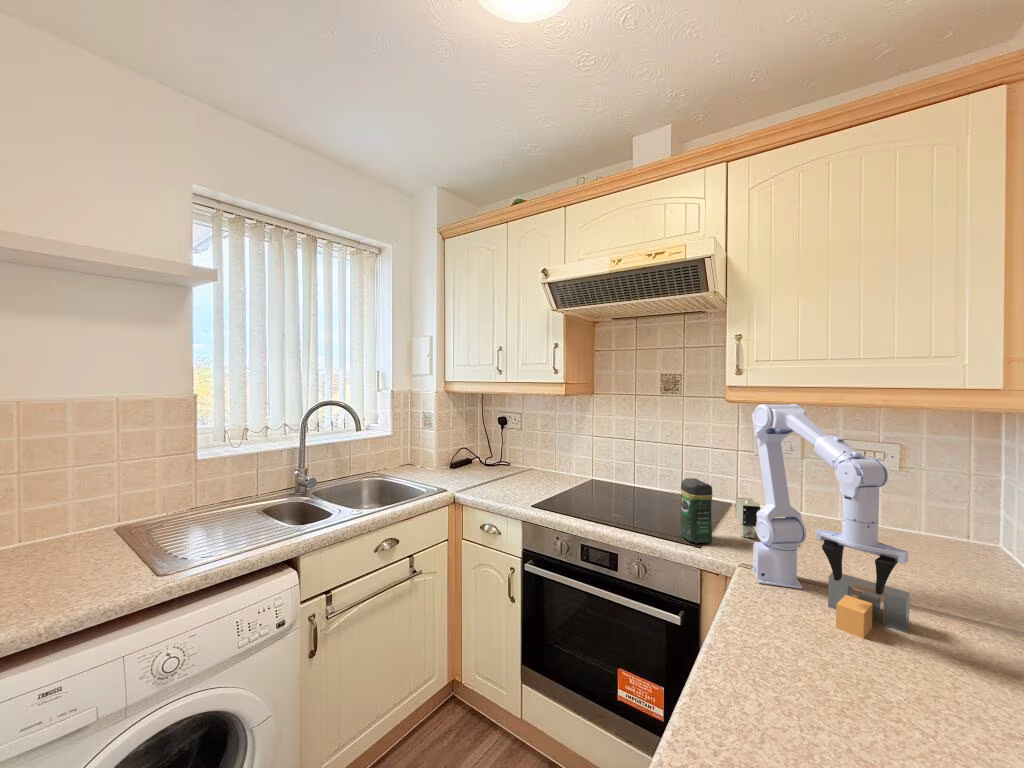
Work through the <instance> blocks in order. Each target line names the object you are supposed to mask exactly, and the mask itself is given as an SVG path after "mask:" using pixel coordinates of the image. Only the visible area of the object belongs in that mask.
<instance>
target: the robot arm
mask: <svg viewBox="0 0 1024 768" xmlns="http://www.w3.org/2000/svg"><path fill="white" fill-rule="evenodd" d="M806 412H807V411H806V409H804V408H802V407H801V406H800V405H798V404H796V403H790V404H764V403H762V404H759V405H757V406H756V407H755V409H754V411H753V413H752V414H751V417H752V424H753V430H754V433H753V434H754V437H755V438H756V442H757V443H756V444H757V449H758V457H759V464H760V471H761V477H762V478H761V479H762V487H763V493H764V501H765V502H764V503H765V505H764V506H762V508H760V510H759V511H758V512H757V513H756V514H757V523H756V527H755V533H756V535H757V537H758V540H760V541H754V542H753V546H752V569H751V570H752V572H753V575H754V576H755V579H756V581H757V582H758V583H759V584H764V585H772V586H779V587H784V588H785V587H786V588H792V589H800V590H801V589H803V585H802V584H801V582H800V581H799V580H798V578H797V577H798V549H799V548H801V544H803V543H804V542H805V541H806V539H807V530H806V527H805V524H804V523H803V520H802V516H801V512H799V511H798V510H797V509H796V508H794V507H793V506H791V501H790V495H789V489H788V481H787V476H786V475H787V474H786V468H785V461H784V453H783V449H782V448H783V447H782V442H783V441H784V439H785V438H788V437H789V436H791V434H793V433H795V434H796V435H798V436H800V438H802V439H804V440H805V441H806V442H808V443H809V444H811V445H812V446H813V447H814V448H813V451H814V454H815V455H816V456H817V457H818V458H819V459H821V461H823V462H824V463H825V464H826V465H827V466H828V467H830V468H831V469H832V470H833V471H834V475H835V477H836V480H837V482H838V484H839V491H840V494H841V495H842V505H841V506H842V507H841V511H842V512H841V532H838V531H831V530H825V529H822V528H819V529H816V530H815V540H816V541H820V542H823V544H822V545H821V548H822V551H823V553H824V554H825V556H826V558H827V561H828V563H829V565H830V568H831V573H832V572H833V576H834V580H836V581H839V580H840V579H841V578H842V574H843V554H844V548H849V549H852V550H857V551H860V552H864V553H868V554H871V555H874V556H879V557H877V558H876V559H874V564H875V572H876V581H875V583H876V594H875V595H877V594H879V595H878V596H881V594H882V593H883V592H884V587H885V586H886V584H887V581H888V579H889V576H890V575H891V573H892V571H893V570H894V568H895V567H896V566H897V564H898V563H900V564H907V563H908V562H909V551H908V550H903V549H901V548H897V547H895V546H892V545H888V544H886V543H883V542H881V541H879V513H880V509H879V508H880V488H882V487H884V486H885V485H886V484H887V482H888V479H889V472H888V470H887V468H886V466H885V464H884V463H883V462H882V461H881V460H880V459H879V458H877V457H867V456H865V455H863V454H862V453H861V452H860V451H859V450H856V449H855V448H854V447H852V446H850V445H849V444H848V443H847V442H845V438H843V437H842V436H840V435H833V434H832V435H828V434H826V432H824V431H823V430H822V429H821V428H820V427H819V426H817V424H815V423H814V422H813V421H812V420H811V419H810V418H809V417H808V416H807V413H806Z"/></svg>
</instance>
